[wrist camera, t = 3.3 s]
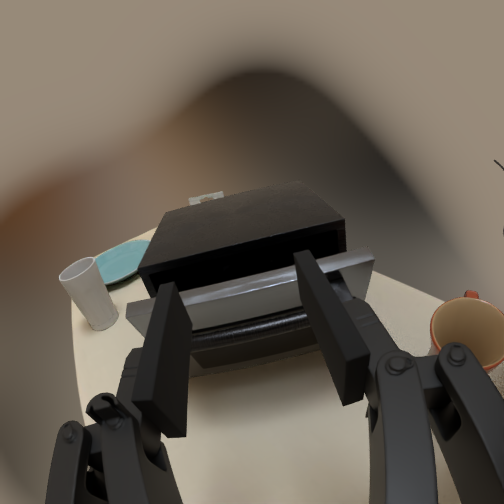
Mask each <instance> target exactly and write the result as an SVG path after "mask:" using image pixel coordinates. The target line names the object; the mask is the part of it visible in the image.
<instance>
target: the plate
mask: <svg viewBox="0 0 504 504" xmlns="http://www.w3.org/2000/svg"><path fill="white" fill-rule="evenodd" d="M149 243H150V241H149V240H134V241H130V242H126V243H123V244H121V245H118V246H116V247H114V248H112V249H110V250H108V251H106V252H104V253H103V254H101V255H100V256H98V257H97V258H95V261H96V264H97V266H98V269H99V272H100V274H101V277H102V279H103V282H104V284H105V285H111V284H115V283H118V282H121V281H123V280H125V279H127V278H129V277H131V276H132V275H134V274H135V273H137V272H138V270H137V268H138V266H139V264H140V261H141V259H142V257H143V255H144V253H145V251H146V249H147V247H148V245H149Z"/></svg>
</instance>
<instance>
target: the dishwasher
mask: <svg viewBox="0 0 504 504" xmlns="http://www.w3.org/2000/svg"><path fill="white" fill-rule="evenodd" d="M305 250H309V251H310V252H311V254H312V255H313V257H314V258H315V260H317V259H320V258H324V257H328V256H332V255H336V254H340V253H344V252H347V250H346V232H345V219H344V218H343V217H342V216H341V215H340V214H339V213H338V212H337V211H335V210H334V209H333V208H332V207H331V206H330V205H328V204H327V203H326V202H325V201H324V200H322V199H321V198H320V197H319V196H318V195H316V194H315V193H314V192H313V191H312V190H310V189H309V188H308V187H307V186H306V185H304V184H303V183H302V182H301V181H299V180H297V181H292V182H287V183H282V184H278V185H273V186H269V187H264V188H260V189H255V190H251V191H247V192H242V193H238V194H234V195H230V196H226V197H222V198H218V199H214V200H210V201H206V202H202V203H198V204H195V205H191V206H187V207H184V208H180V209H176V210H173V211H169V212H166V213H165V214H164V216H163V218H162V220H161V222H160V224H159V226H158V228H157V230H156V231H155V233H154V235H153V237H152V239H151V241H150V243H149V245H148V247H147V249H146V251H145V253H144V255H143V257H142V259H141V261H140V264H139V266H138V268H137V270H138V272H139V274H140V276H141V278H142V281H143V283H144V285H145V287H146V289H147V291H148V293H149V295H150V297H151V298H155V297H156V296H157V293H158V289H159V286H160V285H162V284H166V283H170V282H175V285H176V287H177V289H178V292H182V291H186V290H191V289H195V288H200V287H204V286H209V285H213V284H217V283H222V282H226V281H230V280H235V279H239V278H243V277H247V276H251V275H256V274H260V273H264V272H268V271H272V270H276V269H280V268H285V267H289V266H293V265H295V262H294V255H293V253H297V252H301V251H305Z"/></svg>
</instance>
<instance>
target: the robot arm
mask: <svg viewBox="0 0 504 504" xmlns="http://www.w3.org/2000/svg"><path fill="white" fill-rule="evenodd" d="M494 161H495V162H496V163H497V164H498V165H499V166H500V167H501V168H502V169H503V170H504V168H503V167H502V166H501V165H500V164H499V163H498V162H497V161H496V160H494ZM293 255H294V262H295V268H296V275H297V282H298V289H299V296H300V301H301V303H302V305H303V308H304V310H305V313H306V315H307V317H308V320H309V322H310V325H311V327H312V329H313V332H314V334H315V337H316V339H317V342H318V344H319V347H320V349H321V352H322V354H323V357H324V359H325V362H326V364H327V367H328V369H329V372H330V374H331V377H332V379H333V382H334V384H335V387H336V389H337V392H338V395H339V397H340V400H341V402H342V405H343V406H346V405H349V404H352V403H355V402H357V401H360V400H363V397H364V392H365V395H366V397H367V399H368V401H369V403H368V407H367V411H366V417H365V418H367V417H368V421H369V443H370V495H369V504H438V489H437V475H436V464H435V455H434V447H433V440H432V433H431V428H432V430H433V433H434V435H435V437H436V439H437V442H438V444H439V446H440V449H441V451H442V453H443V456H444V458H445V461H446V463H447V465H448V468H449V471H450V473H451V476H452V478H453V481H454V484H455V486H456V489H457V492H458V495H459V497H460V500H461V503H462V504H504V399H503V398H502V396H501V394H500V393H499V391H498V390H497V388H496V386H495V385H494V383H493V382H492V380H491V379H490V377H489V376H488V374H487V373H486V371H485V370H484V368H483V367H482V365H481V364H480V362H479V361H478V359H477V358H476V357H475V355H474V354H473V352H472V351H471V350H470V349H469V348H468V347H467V346H466V345H464V344H462V343H458V342H452V343H448V344H446V345H445V346H443V347H442V348H441V350H440V352H439V354H438V355H431V356H424V357H414V356H412V355H411V354H409V353H408V352H405V351H402V350H400V349H399V348H398V347H397V345H396V344H395V342H394V341H393V339H392V338H391V336H390V335H389V333H388V332H387V330H386V329H385V327H384V326H383V324H382V323H381V321H380V320H379V318H378V317H377V315H376V314H375V312H374V311H373V310H372V308H371V307H370V305H369V304H368V303H366V302H365V301H363V300H362V299H360V298H355V299H352V300H349V301H345V302H341V301H340V299H339V297H338V296H337V294H336V292H335V291H334V289H333V287H332V286H331V284H330V282H329V281H328V279H327V278H326V276H325V274H324V273H323V271H322V270H321V268H320V266H319V265H318V263H317V262H316V260H315V258H314V257H313V255H312V254H311V252H310V251H309V250H305V251H301V252H297V253H293ZM192 326H193V324H192V321H191V319H190V317H189V315H188V312H187V310H186V308H185V306H184V303H183V301H182V299H181V296H180V294H179V292H178V289H177V287H176V285H175V282H170V283H166V284H162V285H160V286H159V289H158V293H157V296H156V300H155V303H154V307H153V310H152V314H151V317H150V321H149V325H148V329H147V332H146V336H145V340H144V344H143V347H141V348H134V349H132V351H131V352H130V353H129V355H128V356H127V358H126V361H125V364H124V370H123V372H122V375H121V376H122V378H121V379H120V383H119V387H118V391H117V395H116V397H115V396H114V395H113V394H110V393H101V394H98V395H96V396H95V397H94V398H93V399H91V400H90V402H89V403H88V405H87V408H86V413H87V414H88V415H89V416H90V417H91V418H92V419H93V420H94V421H95V422H97V423H95V424H92V425H88V426H85V427H83V426H82V425H81V424H80V423H78V422H77V421H68V422H66V423H65V424H63V426H62V427H61V428H60V430H59V432H58V435H57V439H56V444H55V448H54V453H53V458H52V463H51V468H50V474H49V479H48V486H47V493H46V501H45V504H183V502H182V499H181V496H180V493H179V490H178V487H177V484H176V481H175V478H174V475H173V472H172V468H171V465H170V461H169V458H168V454H167V451H166V447H165V445H164V443H163V442H161V441H160V440H161V432H162V433H163V434H164V435H165V436H166V437H167V438H180V437H186V432H187V403H188V383H189V366H190V352H191V338H192ZM430 426H431V427H430ZM88 466H90V469H89V471H87V467H88Z"/></svg>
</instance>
